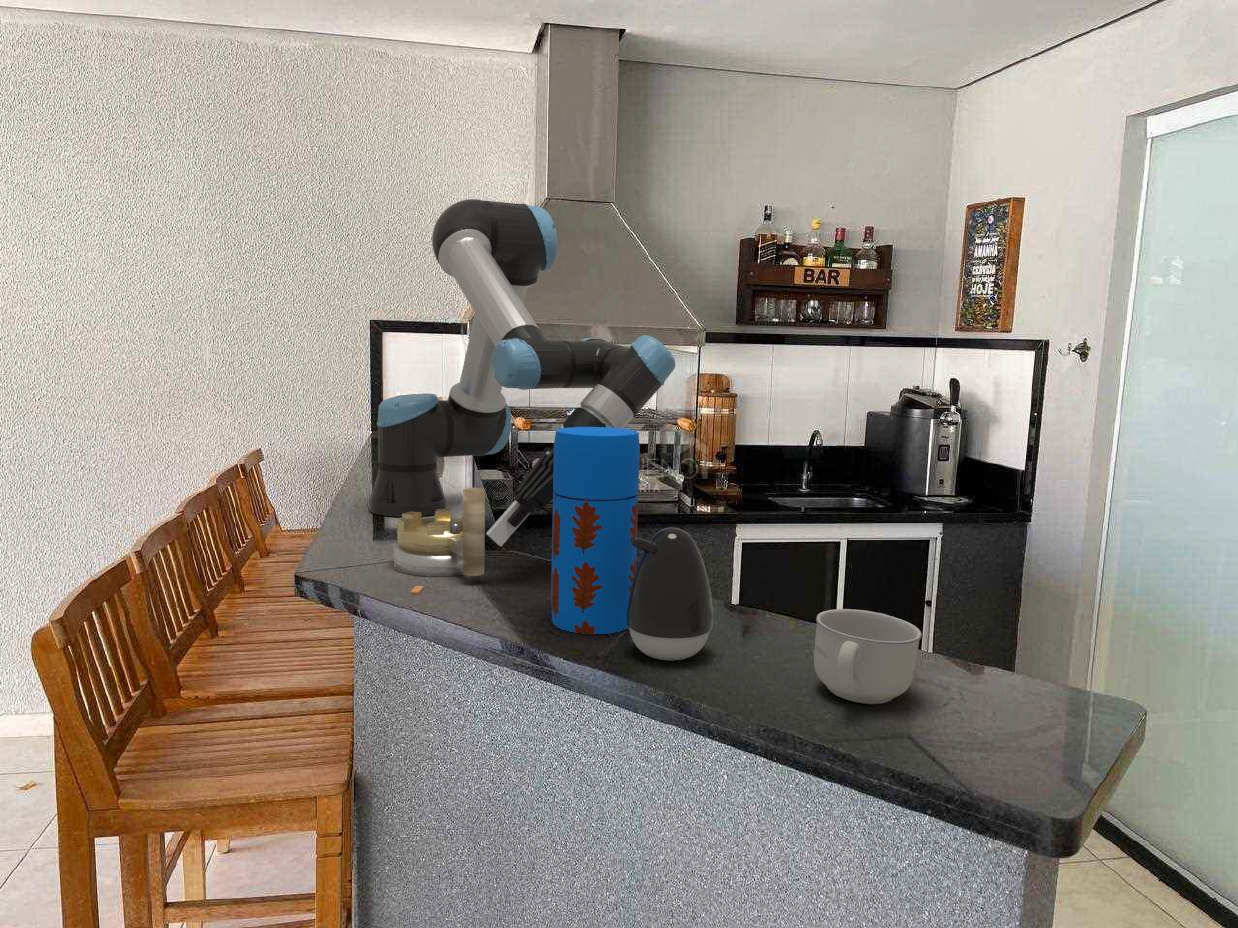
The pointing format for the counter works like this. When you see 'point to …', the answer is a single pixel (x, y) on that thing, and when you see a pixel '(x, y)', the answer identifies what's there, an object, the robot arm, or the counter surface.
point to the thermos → (594, 527)
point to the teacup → (865, 654)
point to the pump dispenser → (669, 597)
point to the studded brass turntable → (449, 532)
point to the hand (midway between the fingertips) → (493, 540)
